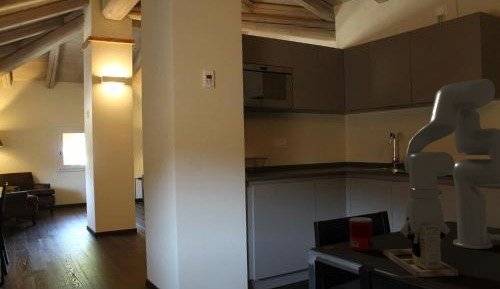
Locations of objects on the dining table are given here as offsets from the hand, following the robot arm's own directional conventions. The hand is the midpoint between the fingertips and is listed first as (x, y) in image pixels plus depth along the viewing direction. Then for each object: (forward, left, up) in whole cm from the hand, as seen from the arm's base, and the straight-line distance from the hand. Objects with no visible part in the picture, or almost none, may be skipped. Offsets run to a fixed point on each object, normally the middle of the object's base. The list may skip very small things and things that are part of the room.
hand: (426, 254), depth 117 cm
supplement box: (0, 0, -4) cm, 4 cm away
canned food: (+11, -26, -5) cm, 29 cm away
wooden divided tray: (0, -6, -4) cm, 7 cm away
